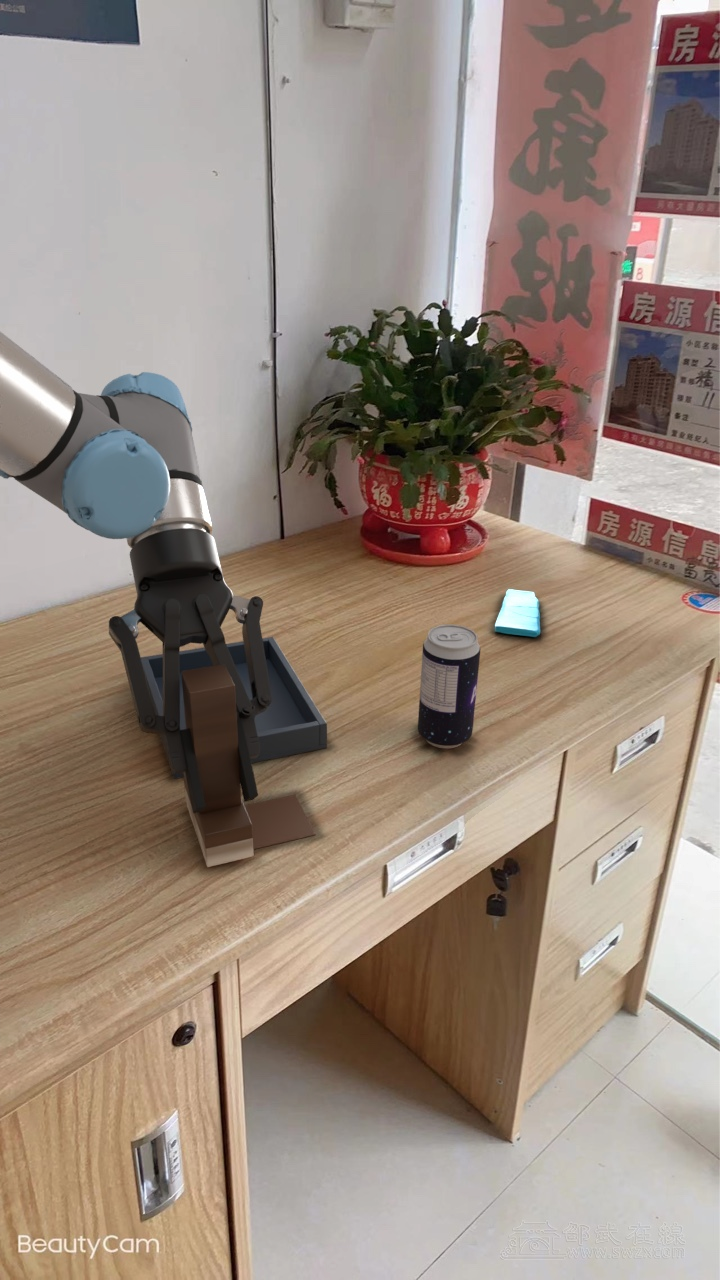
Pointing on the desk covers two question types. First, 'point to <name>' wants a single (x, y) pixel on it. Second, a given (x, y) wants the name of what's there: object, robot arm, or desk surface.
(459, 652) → the beverage can
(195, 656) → the tray
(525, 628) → the sponge
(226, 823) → the brush
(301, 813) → the stain
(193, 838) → the desk surface
